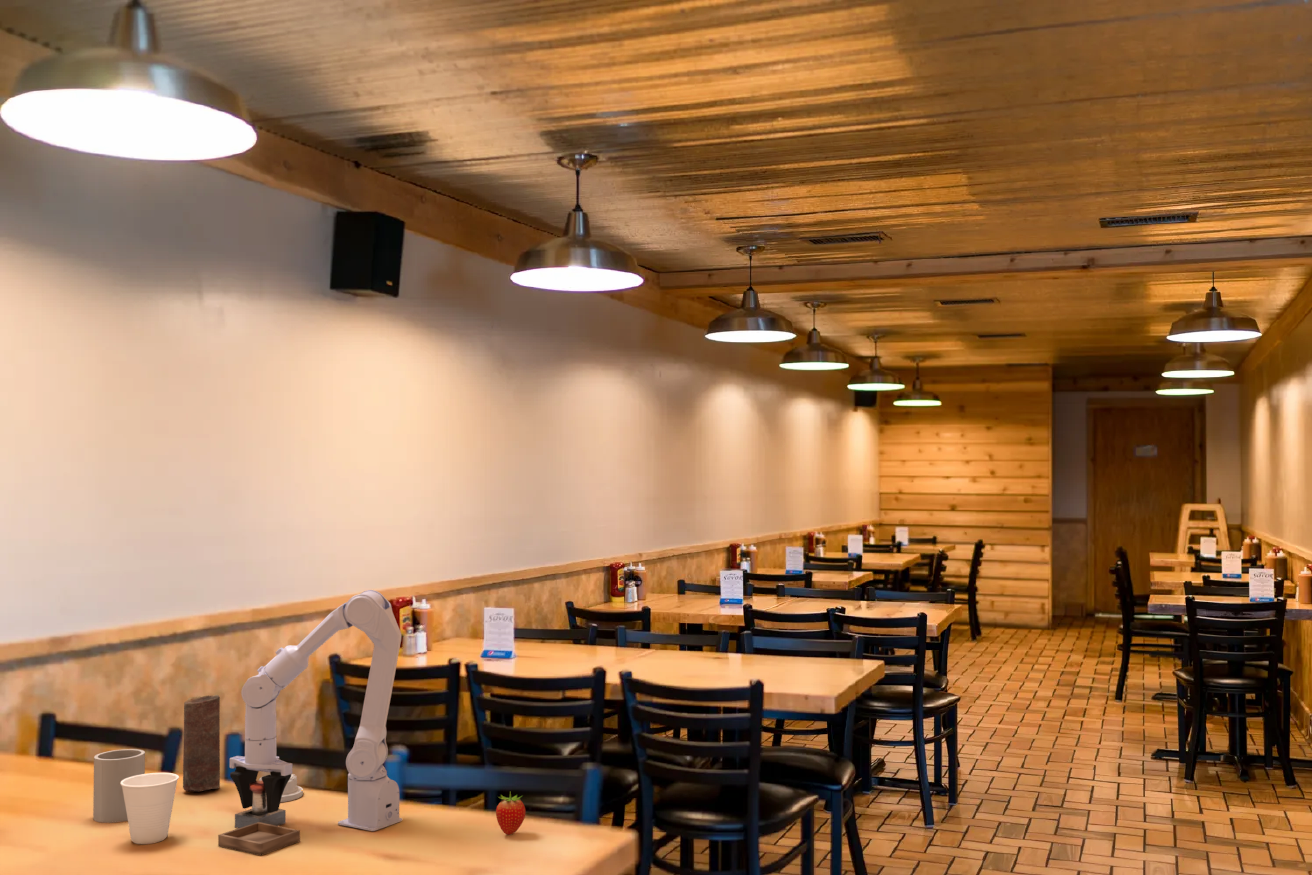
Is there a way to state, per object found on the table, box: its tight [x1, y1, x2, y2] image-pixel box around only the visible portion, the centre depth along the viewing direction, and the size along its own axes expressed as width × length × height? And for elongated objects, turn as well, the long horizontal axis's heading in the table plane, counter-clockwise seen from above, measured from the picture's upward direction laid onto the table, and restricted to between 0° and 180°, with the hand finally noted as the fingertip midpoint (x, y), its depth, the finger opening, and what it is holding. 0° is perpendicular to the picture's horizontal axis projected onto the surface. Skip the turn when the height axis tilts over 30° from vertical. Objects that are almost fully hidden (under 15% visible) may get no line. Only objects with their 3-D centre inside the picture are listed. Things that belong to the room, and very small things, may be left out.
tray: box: [217, 822, 301, 856], centre depth 208 cm, size 11×9×2 cm
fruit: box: [495, 791, 526, 836], centre depth 212 cm, size 5×5×8 cm
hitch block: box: [234, 808, 287, 829], centre depth 219 cm, size 6×6×2 cm
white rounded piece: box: [258, 773, 304, 803], centre depth 239 cm, size 10×4×10 cm
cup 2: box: [120, 772, 180, 845], centre depth 211 cm, size 10×10×11 cm
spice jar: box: [249, 780, 268, 816], centre depth 219 cm, size 4×4×8 cm
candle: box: [182, 694, 221, 793], centre depth 245 cm, size 8×7×20 cm
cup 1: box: [92, 748, 146, 824], centre depth 227 cm, size 9×9×12 cm
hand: (260, 809), depth 219 cm, fingers open, 6 cm apart
